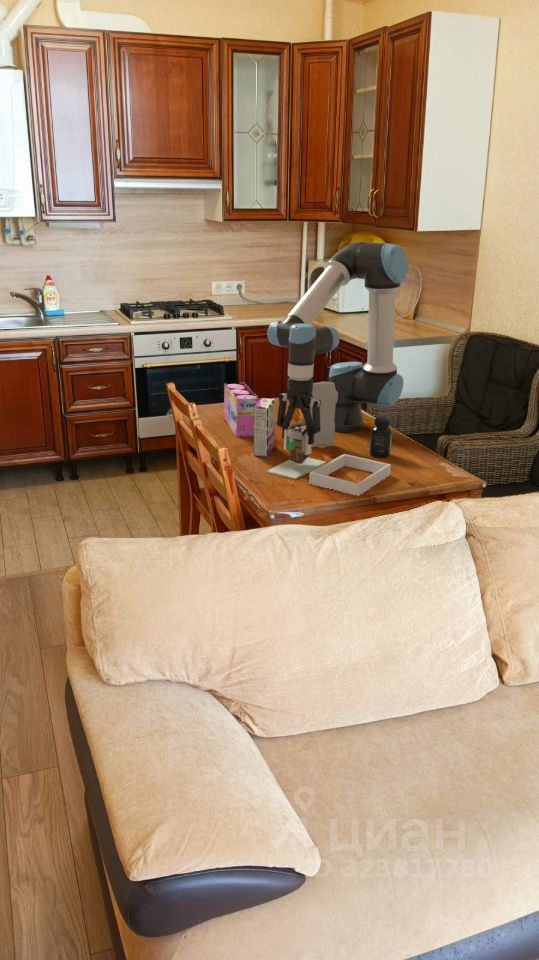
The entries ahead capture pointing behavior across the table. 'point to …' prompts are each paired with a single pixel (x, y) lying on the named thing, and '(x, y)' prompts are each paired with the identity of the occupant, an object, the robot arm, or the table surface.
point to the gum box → (240, 408)
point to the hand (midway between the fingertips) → (297, 451)
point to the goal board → (296, 468)
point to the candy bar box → (264, 427)
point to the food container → (297, 442)
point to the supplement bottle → (380, 438)
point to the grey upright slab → (325, 413)
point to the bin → (322, 480)
